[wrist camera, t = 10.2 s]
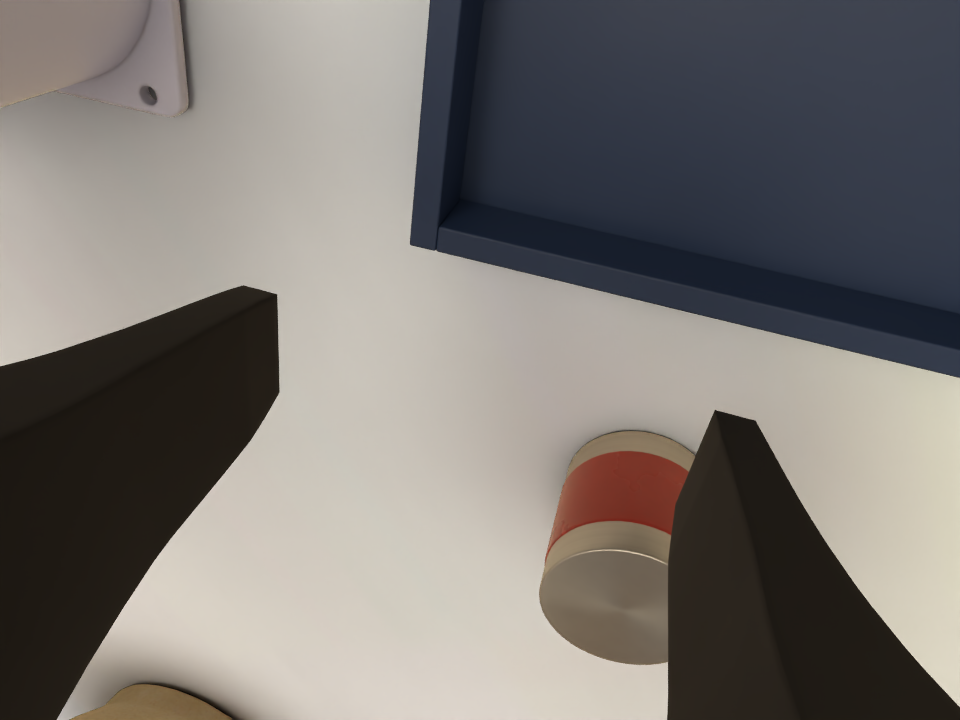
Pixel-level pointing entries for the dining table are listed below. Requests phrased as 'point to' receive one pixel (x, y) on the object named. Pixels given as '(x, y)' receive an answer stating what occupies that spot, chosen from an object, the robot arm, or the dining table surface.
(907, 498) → the dining table surface
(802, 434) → the dining table surface
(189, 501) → the robot arm
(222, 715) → the planter bowl
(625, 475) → the tin can
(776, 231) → the tray
